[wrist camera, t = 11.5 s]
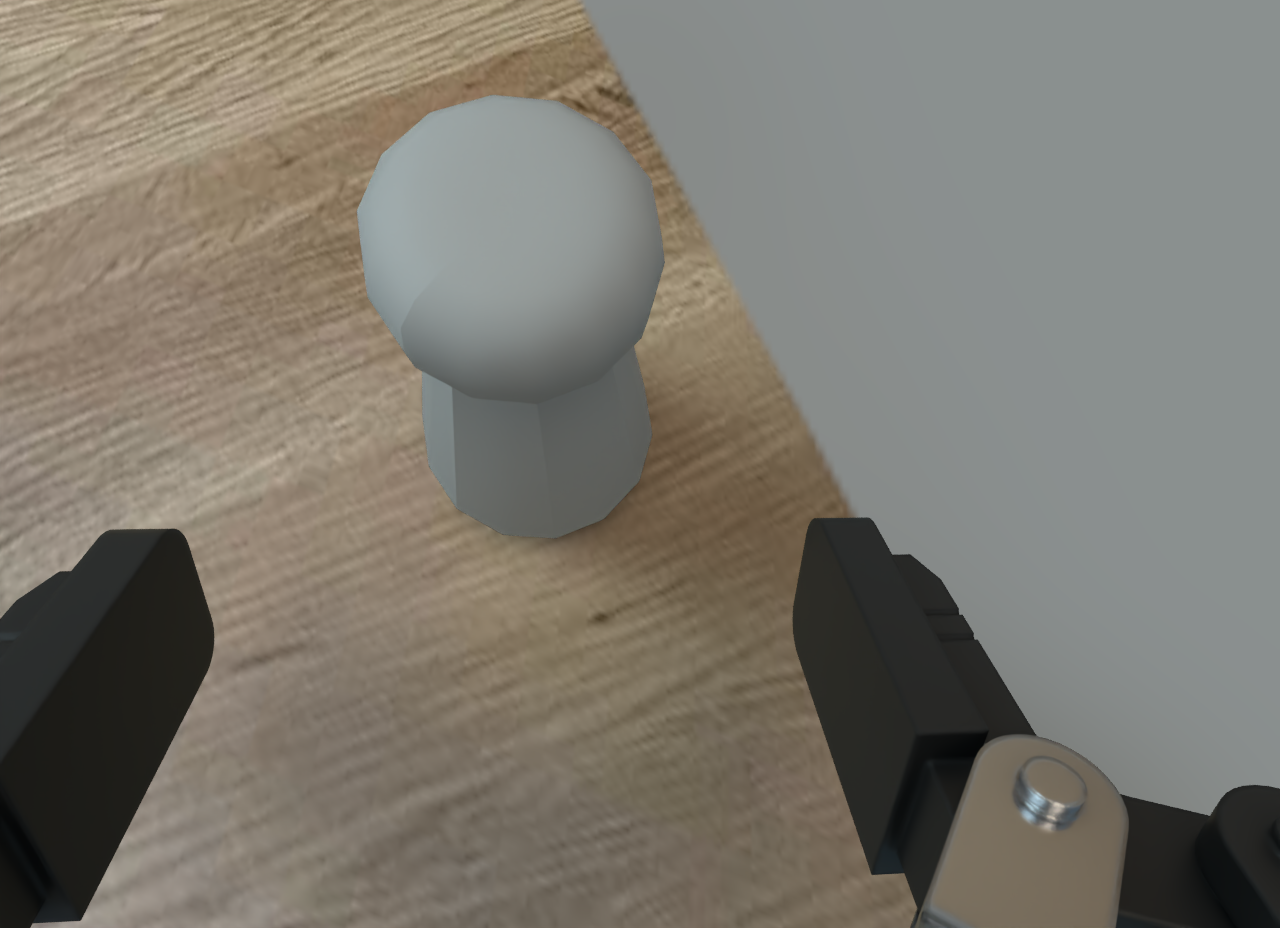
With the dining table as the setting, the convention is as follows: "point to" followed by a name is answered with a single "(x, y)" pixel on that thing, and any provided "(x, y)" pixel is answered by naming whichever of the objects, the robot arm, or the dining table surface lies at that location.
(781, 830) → the dining table surface
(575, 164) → the salt shaker
